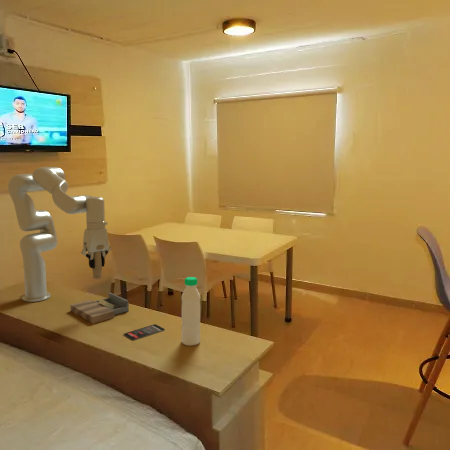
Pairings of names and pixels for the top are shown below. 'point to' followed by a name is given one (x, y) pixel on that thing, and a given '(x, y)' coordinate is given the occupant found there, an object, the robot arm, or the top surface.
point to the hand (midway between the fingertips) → (97, 266)
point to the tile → (106, 304)
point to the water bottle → (190, 313)
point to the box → (117, 304)
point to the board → (92, 311)
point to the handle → (97, 263)
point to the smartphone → (143, 332)
